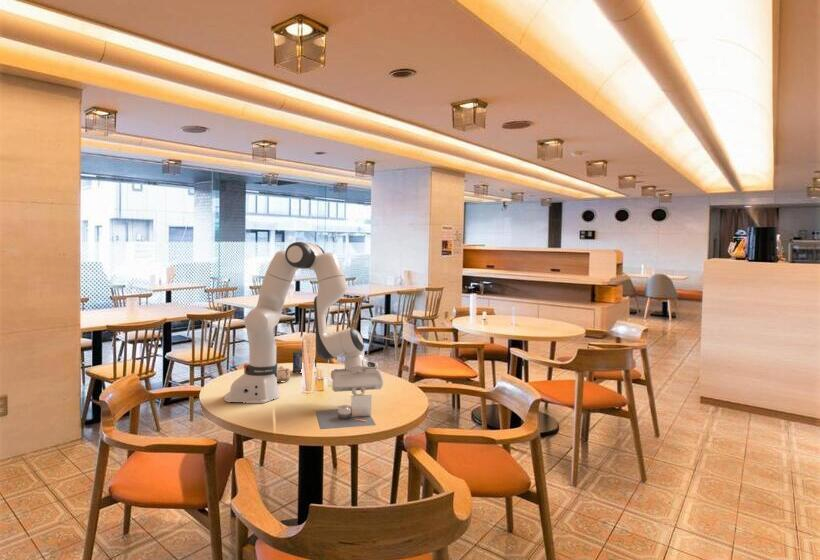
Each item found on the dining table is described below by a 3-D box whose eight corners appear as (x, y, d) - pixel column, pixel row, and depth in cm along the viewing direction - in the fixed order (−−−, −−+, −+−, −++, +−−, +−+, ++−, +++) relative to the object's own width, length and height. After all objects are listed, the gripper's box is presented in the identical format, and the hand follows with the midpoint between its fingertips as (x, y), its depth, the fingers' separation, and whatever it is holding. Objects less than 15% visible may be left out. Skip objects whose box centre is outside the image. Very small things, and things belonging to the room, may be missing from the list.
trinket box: (293, 382, 238) (293, 366, 238) (261, 386, 230) (261, 369, 230) (284, 375, 250) (284, 360, 249) (253, 379, 242) (253, 363, 241)
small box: (291, 372, 255) (292, 352, 255) (299, 369, 262) (299, 349, 261) (310, 375, 252) (310, 354, 251) (316, 372, 258) (317, 351, 257)
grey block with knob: (338, 419, 186) (339, 399, 186) (337, 414, 191) (337, 395, 190) (372, 417, 190) (372, 397, 189) (369, 412, 194) (369, 393, 194)
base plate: (320, 431, 177) (320, 428, 177) (315, 413, 196) (315, 409, 196) (376, 427, 182) (376, 424, 182) (365, 409, 202) (365, 406, 202)
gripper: (330, 365, 200) (333, 396, 191) (381, 363, 205) (386, 393, 196) (329, 373, 204) (332, 404, 195) (378, 371, 210) (383, 401, 201)
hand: (359, 399), depth 196 cm, fingers closed
